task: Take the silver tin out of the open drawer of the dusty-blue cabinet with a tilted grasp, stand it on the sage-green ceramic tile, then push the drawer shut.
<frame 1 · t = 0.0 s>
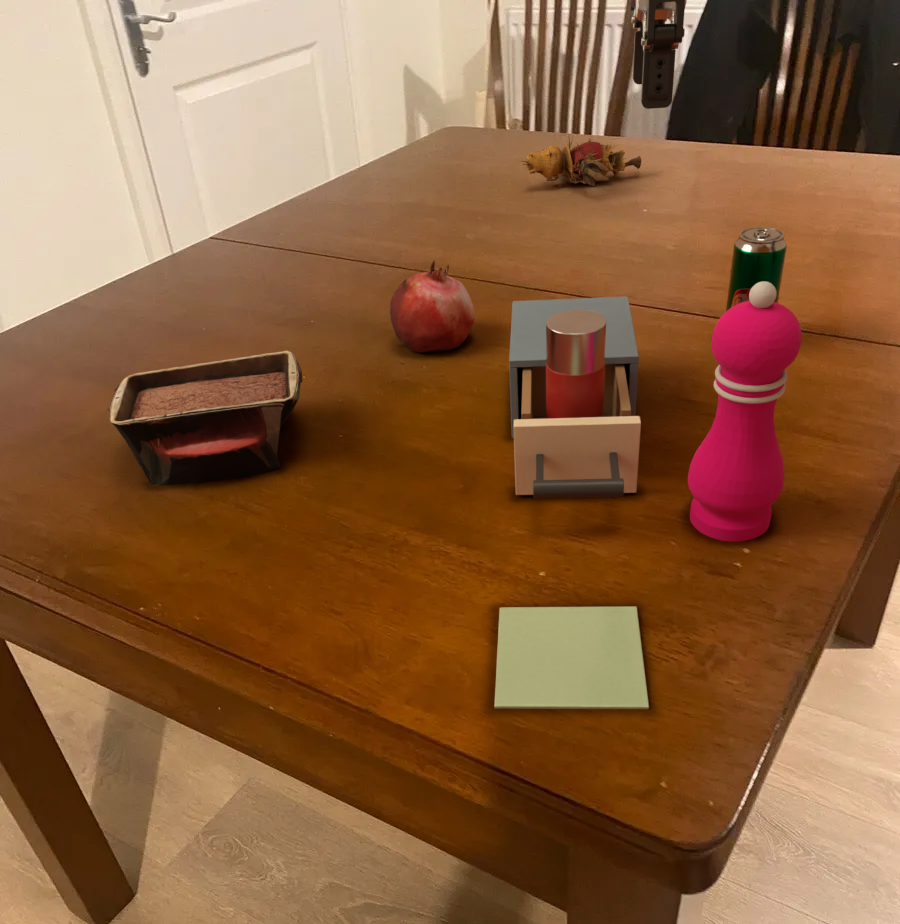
hand: (650, 94, 72), 28 cm above the table, tool pointing down, fingers open, 8 cm apart
pepper mill: (728, 526, 75), on the table
tile: (569, 661, 64), on the table
cabinet: (570, 406, 91), on the table
tin: (574, 450, 81), point 2 cm above the table, touching drawer
fruit: (434, 348, 105), on the table
drawer: (575, 439, 79), point 4 cm above the table, slide at 9.0 cm, touching tin
baking dish: (223, 453, 90), on the table
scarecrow: (578, 186, 147), on the table
soda can: (745, 349, 99), on the table
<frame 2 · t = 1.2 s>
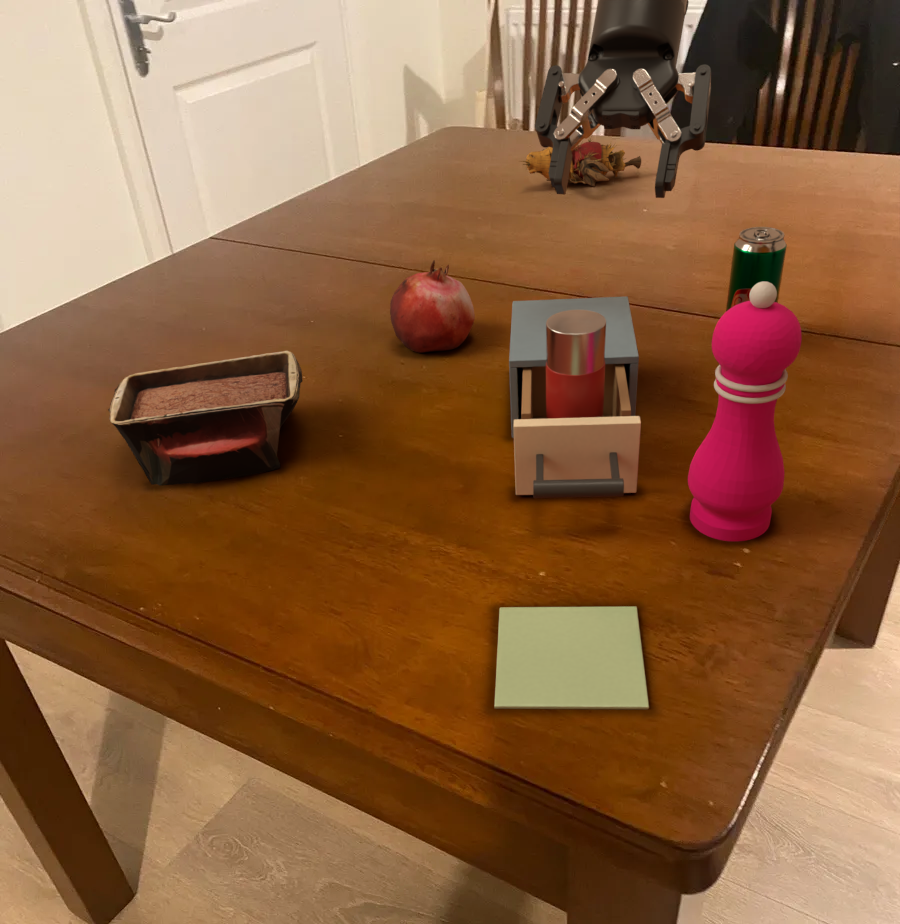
hand: (608, 191, 78), 20 cm above the table, tool tilted 45°, fingers open, 8 cm apart
nothing on the table moved.
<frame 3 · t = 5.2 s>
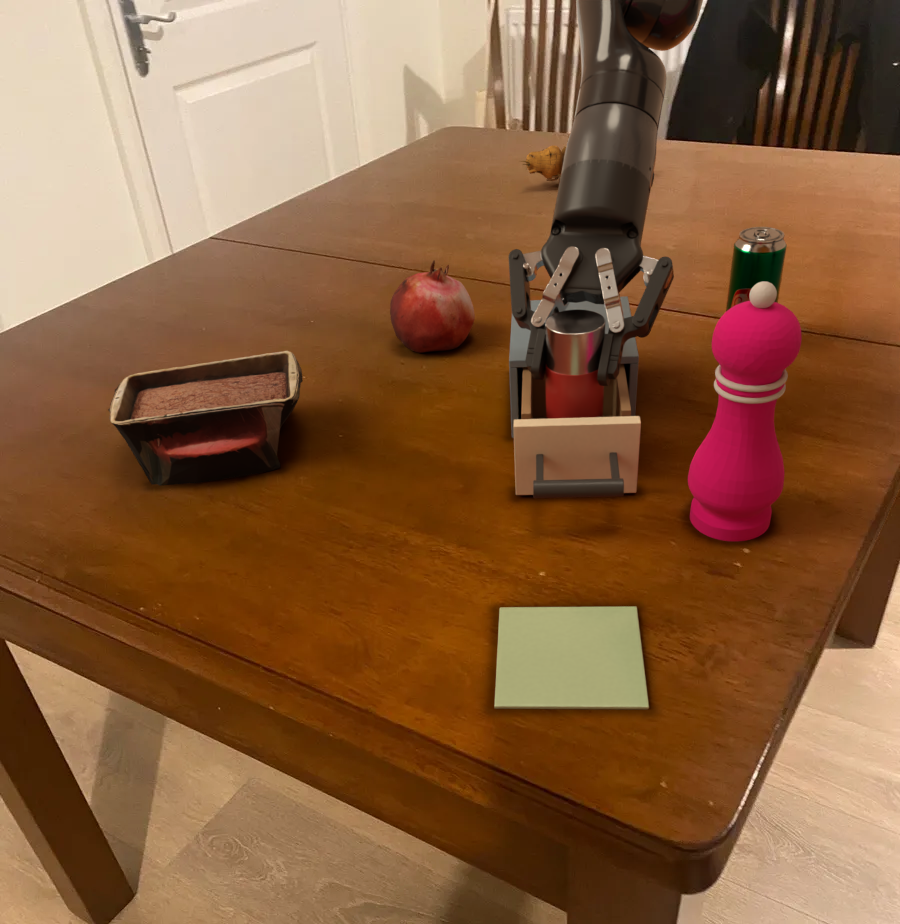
hand: (569, 379, 75), 10 cm above the table, tool tilted 45°, fingers closed on tin, 5 cm apart
tin: (574, 450, 81), point 2 cm above the table, touching drawer, gripper
everything else where it was.
when the fingers open (9 cm above the table, at t = 15.8 s): tin stays where it is, resting on tile.
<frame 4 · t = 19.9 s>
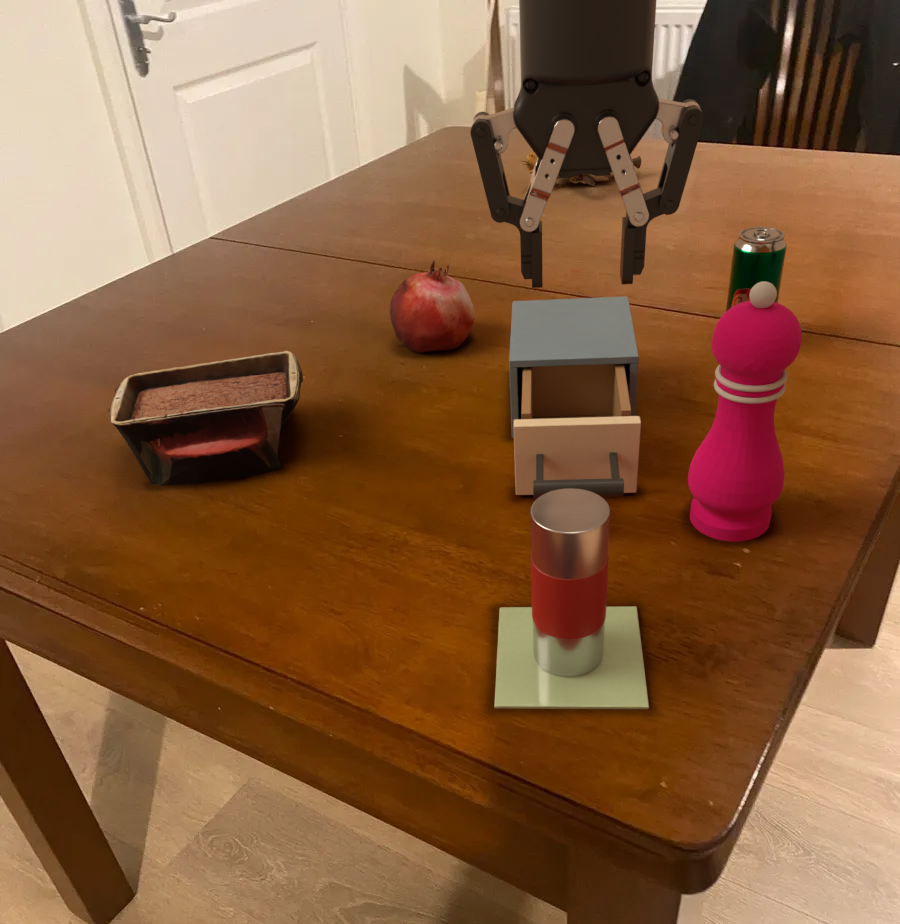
hand: (582, 280, 61), 21 cm above the table, tool pointing down, fingers open, 5 cm apart
tin: (568, 652, 63), point 1 cm above the table, touching tile
drawer: (575, 439, 79), point 4 cm above the table, slide at 9.0 cm
everything else where it was.
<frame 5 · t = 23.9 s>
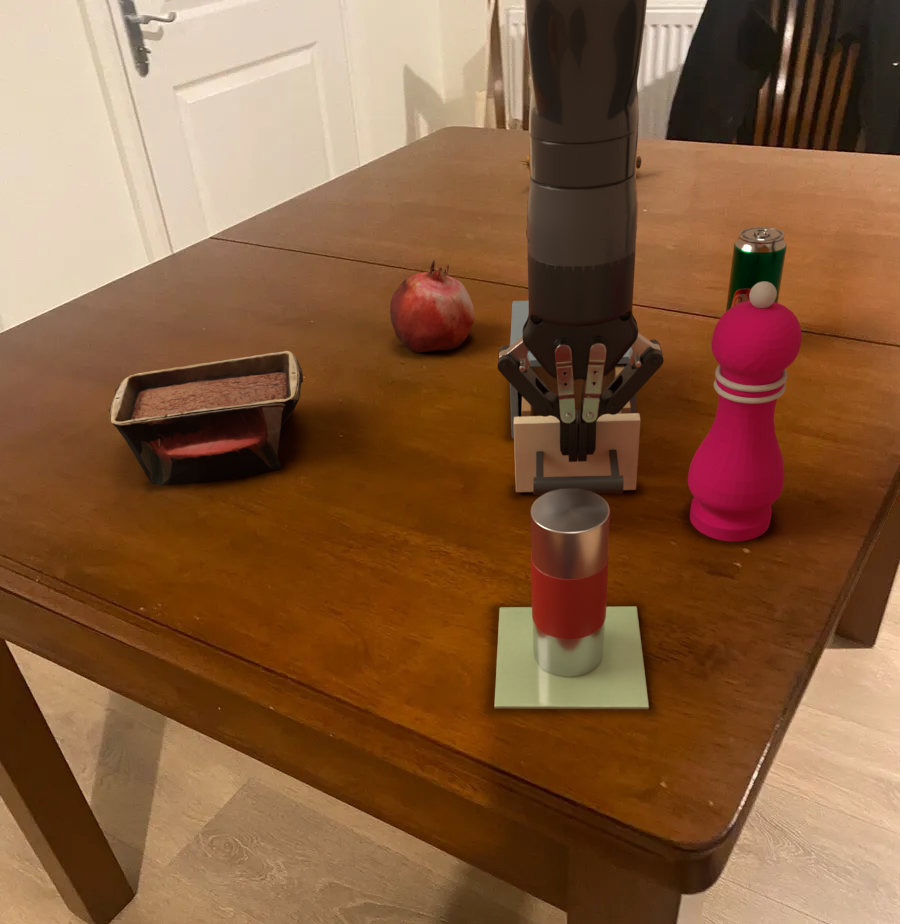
hand: (577, 456, 75), 5 cm above the table, tool pointing down, fingers closed
drawer: (574, 436, 79), point 4 cm above the table, slide at 8.5 cm, touching gripper
everything else where it was.
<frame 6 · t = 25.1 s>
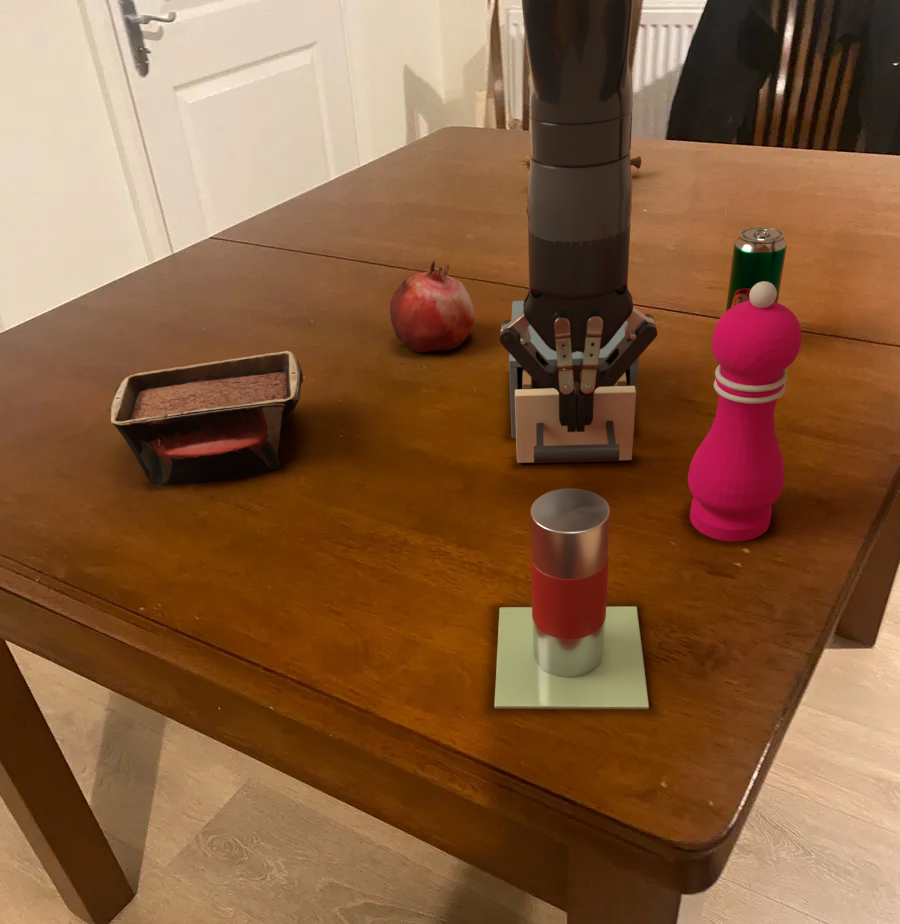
hand: (575, 427, 79), 5 cm above the table, tool pointing down, fingers closed
drawer: (573, 409, 82), point 4 cm above the table, slide at 3.8 cm, touching gripper
everything else where it was.
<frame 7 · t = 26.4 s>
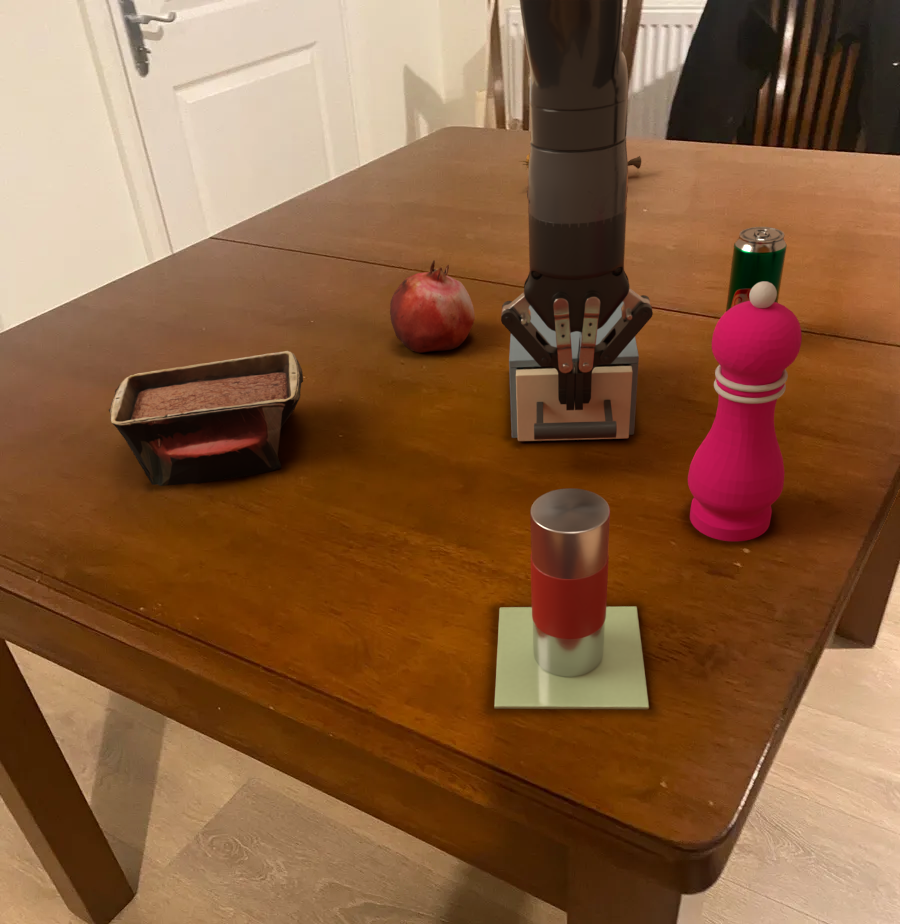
hand: (574, 405, 81), 5 cm above the table, tool pointing down, fingers closed
drawer: (572, 389, 85), point 4 cm above the table, slide at 0.0 cm, touching cabinet, gripper
everything else where it was.
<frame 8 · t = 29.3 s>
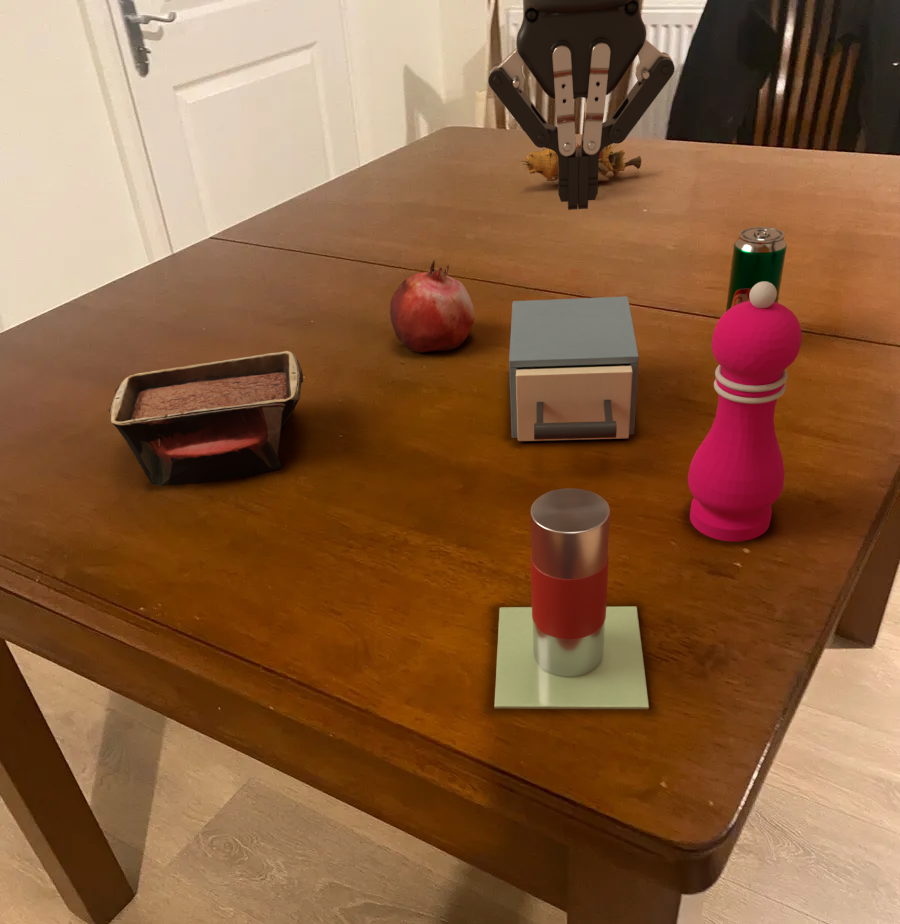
hand: (578, 205, 68), 23 cm above the table, tool pointing down, fingers closed
drawer: (572, 389, 85), point 4 cm above the table, slide at 0.0 cm, touching cabinet
everything else where it was.
at the end: tin inside the target area on the tile (0.1 cm from its centre), point 0.8 cm above the tile's base; tin tilted 0°; drawer slide at 0.0 cm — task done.
